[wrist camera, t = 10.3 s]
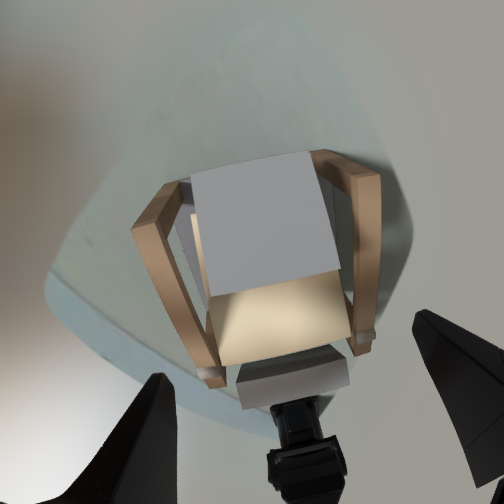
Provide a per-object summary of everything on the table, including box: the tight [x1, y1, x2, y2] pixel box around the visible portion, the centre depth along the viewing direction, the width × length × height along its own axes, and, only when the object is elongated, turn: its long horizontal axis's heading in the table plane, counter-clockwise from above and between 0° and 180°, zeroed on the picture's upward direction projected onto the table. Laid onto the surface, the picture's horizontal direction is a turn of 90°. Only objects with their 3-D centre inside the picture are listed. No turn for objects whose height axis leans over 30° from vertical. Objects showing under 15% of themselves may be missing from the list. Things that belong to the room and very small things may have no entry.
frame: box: [130, 149, 381, 389], centre depth 17 cm, size 12×11×8 cm
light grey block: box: [190, 150, 341, 297], centre depth 14 cm, size 5×5×6 cm
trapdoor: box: [191, 213, 351, 410], centre depth 19 cm, size 13×8×6 cm
